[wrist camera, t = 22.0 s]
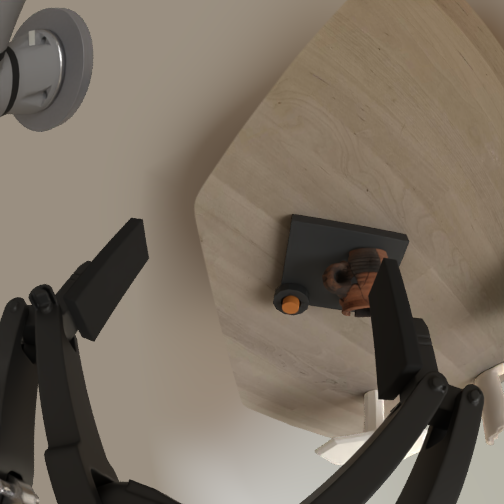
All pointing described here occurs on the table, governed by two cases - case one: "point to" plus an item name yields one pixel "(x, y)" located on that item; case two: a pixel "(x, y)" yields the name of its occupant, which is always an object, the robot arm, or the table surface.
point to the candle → (492, 402)
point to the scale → (326, 257)
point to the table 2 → (361, 434)
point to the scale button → (290, 304)
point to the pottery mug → (364, 270)
